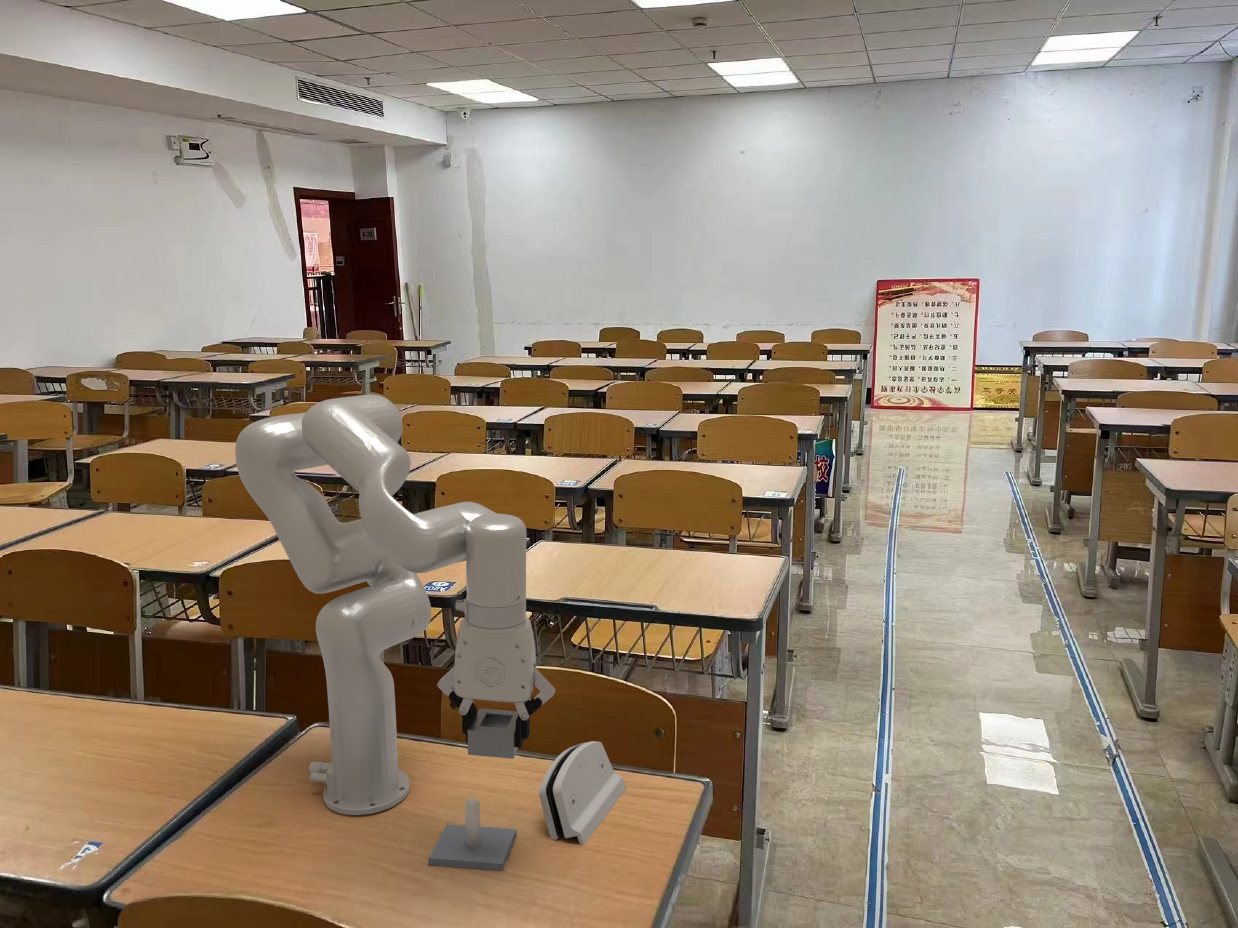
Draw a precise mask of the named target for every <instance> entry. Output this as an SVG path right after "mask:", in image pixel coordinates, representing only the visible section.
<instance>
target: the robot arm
mask: <svg viewBox="0 0 1238 928" xmlns="http://www.w3.org/2000/svg"><path fill="white" fill-rule="evenodd" d="M403 428H404V426H403V419H402V416H401V414H400V411H399V409H398V408H397V407H396V405H395V404H394V403H393V402H392V401H391V400H389V398H387V397H385V396H383V395H379V394H374V393H373V394H371V393H370V394H363V395H362V394H361V395H354V396H353V395H352V396H345V397H337V398H335V397H334V398H329V399H325V400H322V401H320V402H317V403H315V404H314V405H312V406H311V407H309V408H308V410H307V411H306V412H300V413H299V412H298V413H291V414H283V415H276V416H270V417H265V418H263V419H259V420H257V421H255V422H252V423H250V424H248V425H247V426H246V427H244V428H243V429H242V430H241V431H240V433H239V434H238V437H237V439H236V442H235V448H234V452H235V454H234V456H235V463H236V464H235V465H236V468H237V471H238V475H239V477H240V480H241V481H242V484H243V486H244V488H245V490H246V491H247V492H248V494H249V495H250V497H251V498H252V499H253V501H254V502H255V504H256V505H257V506H258V507H259V508H260V509H261V510H262V512H263V513H264V515H265V517H267V519H268V521H269V522H270V524H271V526H272V527H273V529H274V531H275V534H276V536H277V537H278V540H279V542H280V544H281V545H282V548H283V549H284V552H285V553H286V556H287V557H288V559H289V561H290V563H291V565H292V567H293V569H294V572H295V573H296V574H297V577H298V578H299V580H300V581H301V583H302V585H303V586H304V587H305V588H306V589H307V590H308V591H309V592H312V593H313V594H327V593H328V594H329V593H331V592H336V591H339V590H342V589H345V588H348V587H352V586H356V585H358V584H362V583H365V582H366V583H367V584H368V586H366V587H364V588H363V587H362V588H360V589H357V590H354V591H351V592H348V593H345V594H342V595H339V596H337V597H336V598H334V599H331V600H330V601H329V602H328V603H326V604H325V605H324V606H323V607H322V608H321V609H320V611H319V613H318V615H317V617H316V620H315V633H316V638H317V643H318V646H319V649H320V653H321V656H322V657H321V658H322V659H323V660H322V661H323V666H324V670H325V671H324V672H325V678H326V679H325V680H326V690H327V705H328V718H329V731H330V732H329V734H330V747H331V748H330V749H331V761H330V762H324V761H311V762H310V764H309V768H308V772H309V774H310V775H309V781H310V782H311V783H324V784H325V787H324V788H323V801H324V804H325V806H326V807H327V808H328V809H330V810H332V811H333V812H335V813H338V814H342V815H346V816H347V815H348V816H366V815H372V814H375V813H381V812H382V811H386V810H389V809H391V808H393V807H395V806H396V805H398V804H399V803H401V802H402V801H403V800H404V799H405V798H406V797H407V796H408V794H409V792H410V787H411V785H410V781H411V780H410V778H409V776H408V774H406V773H405V771H402V770H401V769H399V756H398V738H397V737H398V735H397V734H398V733H397V714H396V711H397V710H396V697H395V695H396V693H395V683H394V682H395V681H394V678H393V675H392V672H391V671H390V670H389V668H388V667H387V666H386V664H385V663H384V662H383V661H382V660H381V656H380V654H381V653H382V652H384V651H385V650H387V649H390V648H391V647H394V646H396V645H399V644H401V643H404V642H406V641H408V640H410V639H412V638H415V637H417V636H419V635H421V634H423V632H424V631H426V630H427V628H428V626H429V624H430V623H431V619H432V605H431V602H430V598H429V595H428V594H427V593H428V592H427V591H426V589H425V587H424V584H423V583H422V581H421V579H420V577H419V575H418V574H427V573H430V572H433V571H436V570H437V571H438V570H439V569H441V568H445V567H448V566H451V565H454V564H457V563H461V562H466V563H465V564H466V565H465V566H466V567H465V573H466V574H465V575H466V576H465V579H466V580H465V581H466V582H465V585H466V588H465V589H466V591H465V593H466V594H465V595H466V597H465V598H463V599H456V601H455V607H454V609H455V611H461V612H463V615H464V618H463V619H461V621H460V622H459V626H458V630H457V635H456V645H455V651H454V652H455V653H454V654H455V655H454V666H453V667H452V668H451V669H450V670H449V671H448V672H446V673H445V675H443V676H442V677H441V678H440V679H439V680H438V682H437V684H436V685H437V688H438V689H439V690H440V691H441V692H442V693H443V694H444V695H445V696H447V697H448V699H449V701H450V702H451V703H452V704H453V705H454V706H455V707H456V708H457V709H458V713H459V714H460V715H461V730H462V731H461V733H462V734H463V735H465V744H468V728H469V727H470V725H471V724H472V722H473V720H474V718H475V716H476V715H477V713H478V707H477V705H476V704H474V703H475V702H474V701H481V702H483V701H484V702H494V703H495V702H496V703H497V702H498V703H507V704H508V703H509V704H513V705H514V706H515V710H516V711H518V717H517V719H516V747H517V748H518V749H522V746H523V744H524V742H525V740H529V739H530V731H531V716H532V715H533V714H534V713H536V711H537V710H539V709H540V708H541V707H542V706H543V705H544V704H545V703H547V702H548V701H550V700H551V699H552V698H553V697H554V694H555V693H556V687H554V686H553V684H552V683H550V681H549V680H548V679H547V678H546V677H545V676H544V675H543V674H542V673H541V672H540V670H538V668H537V658H536V657H537V656H536V655H537V654H536V647H535V638H534V632H533V626H532V623H531V620H530V618H528V617H526V615H527V614H526V613H527V528H526V525H525V522H524V521H523V520H522V519H521V518H520V517H517V516H514V515H512V514H507V513H505V514H504V513H497V512H495V511H493V510H492V509H489V508H488V507H486V506H484V505H482V504H480V503H477V502H473V501H461V502H457V503H453V504H449V505H445V506H444V505H443V506H439V507H435V508H432V509H428V510H425V511H420V512H417V513H412V512H411V511H409V510H408V509H406V508H405V507H404V506H403V505H402V504H401V503H400V502H399V501H397V500H396V499H395V498H394V497H393V496H394V495H395V494H396V493H397V492H398V491H399V490H400V489H401V487H402V486H403V484H404V483H405V482H406V480H407V477H408V476H409V474H410V472H411V471H410V470H411V458H410V455H409V453H408V451H407V450H406V449H405V448H404V447H403V446H401V445H400V444H399V443H398V442H399V440H400V439H401V436H402V434H403ZM323 466H329V467H330V468H331V469H332V470H333V471H335V472H336V473H337V474H338V475H339V476H340V477H341V478H342V479H344V481H345V482H347V483H348V484H349V485H350V486H351V487H352V488H353V489H354V490H355V491H356V492H358V493H359V495H358V510H359V515H360V519H355V520H351V521H348V522H347V521H346V522H342V521H339V520H338V519H337V518H336V516H335V514H334V513H333V511H332V510H331V507H330V506H329V503H328V501H327V500H326V498H325V496H324V495H323V494H322V493H321V492H320V491H319V490H318V489H316V488H315V487H314V486H313V485H312V484H310V483H309V482H307V481H306V480H304V479H302V478H300V477H298V476H297V475H296V474H295V472H297V471H301V470H302V471H303V470H306V469H308V470H309V469H313V468H318V467H323ZM534 687H536V688H537V689H538V691H539V693H537V694H536V695H535V696H533V697H532V694H533V689H534ZM531 697H532V698H531Z"/></svg>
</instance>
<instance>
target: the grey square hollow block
mask: <svg viewBox="0 0 1238 928" xmlns="http://www.w3.org/2000/svg"><path fill="white" fill-rule="evenodd" d="M517 717H518V711H517V710H504V709H492V708H479V709H478V710H477V715H476V716H475V718H474V720H473V722H472V724H471V725H470V727H469V728H468V743H467V756H468V755H469V756H477V757H478V756H480V757H488V758H500V759H512V760H514V758H515V756H516V754H517V751H518V749H519V748H517V747H516V719H517Z"/></svg>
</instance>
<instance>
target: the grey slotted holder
mask: <svg viewBox="0 0 1238 928" xmlns="http://www.w3.org/2000/svg"><path fill="white" fill-rule="evenodd" d="M626 789H627V787H626V784H625V781H624V778H623V777H622V776H621V775H619V774H617V773H616V772H615V771H614V768H613V766H612V764H611V761H610V759H609V757H608V754H607V752H606V749H605V747H604V745H603V743H602V742H601V741H597V740H596V741H593V740H591V741H588V742H581V743H578V744H575V745H573V746H570V747H568V748H567V749H565V750H564V751H562V752H561V753H560V754H559V755H558V756H557V757H556V758H555V759H554V760H553V762H552V763H551V764H550V766H549V767H548V769H547V771H546V773H545V775H544V776H543V779H542V782H541V784H540V786H539V789H538V795H539V796H538V797H539V800H540V804H541V808H542V810H543V814H544V815H543V816H544V818H545V823H546V827H547V831H548V834H549V838H550V839H551V838H552V839H551V840H558V839H559V838H560V837H561V836H563V837H564V839H568V838H573V837H577V840H578V842H579V843H578V844H579V846H585V844H586V843H588V840H589V839H590V838H591V837H592V835H593V834H594V832H595V831H596V829H598V827H599V826H600V824H601V823H602V821H603V820H604V819H605V817H607V815H608V814H609V813H610V812H611V809H612V808H613V807H614V805H615V804H616V802H618V801H619V799H620V798H621V796H622V795H623V793H624V792H625V790H626Z"/></svg>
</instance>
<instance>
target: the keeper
mask: <svg viewBox="0 0 1238 928" xmlns="http://www.w3.org/2000/svg"><path fill="white" fill-rule="evenodd" d="M464 817H465V818H464V819H465V821H464V823H465V825H464V824H463V825H462V824H450V823H449V824H448V823H447V824H446V825H445V827H444V829H443V831H442V833H441V835H440V836H439V838H438V840H437V843H435V845H434V847H433V849H432V851H431V853H430V855H428V856H429V857H428V866H436V867H437V866H438V867H448V868H449V867H450V868H463V869H478V870H490V871H500V872H501V871H503V870H504V869H505V865H506V863H507V860H508V858H509V856H510V852H511V850H512V848H513V846H514V843H515V840H516V838H517V835H518V834H517V829H516V828H508V827H507V828H505V827H493V826H492V827H491V826H481V803H480V800H478V798H477V799H475V798H470V799H467V800H466V801H465V802H464Z"/></svg>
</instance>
